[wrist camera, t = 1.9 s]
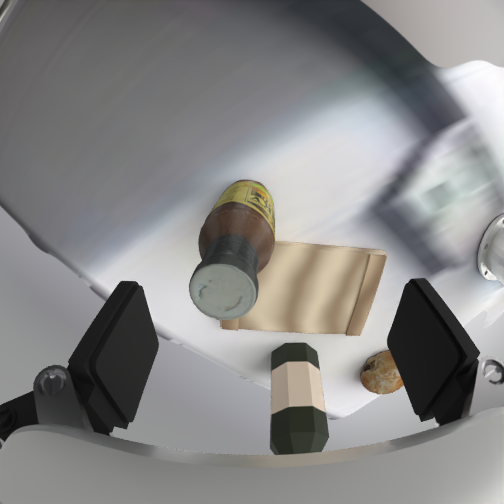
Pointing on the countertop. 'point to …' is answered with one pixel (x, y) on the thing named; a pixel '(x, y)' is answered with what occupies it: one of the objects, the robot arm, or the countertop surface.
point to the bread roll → (381, 374)
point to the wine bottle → (297, 401)
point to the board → (314, 290)
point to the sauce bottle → (234, 251)
